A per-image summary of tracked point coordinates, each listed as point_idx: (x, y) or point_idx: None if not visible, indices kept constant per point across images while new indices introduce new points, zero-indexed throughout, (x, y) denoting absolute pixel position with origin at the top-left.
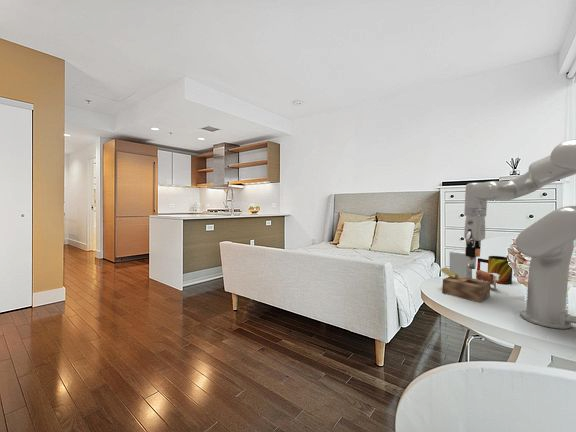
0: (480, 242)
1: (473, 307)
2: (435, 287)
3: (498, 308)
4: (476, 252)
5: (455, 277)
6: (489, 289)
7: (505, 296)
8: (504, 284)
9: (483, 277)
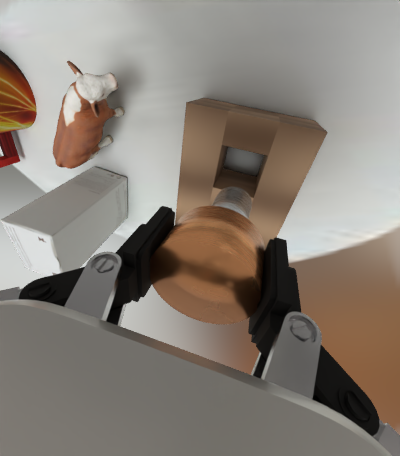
0: (85, 279)
1: (393, 134)
2: None
3: (362, 41)
4: (254, 251)
5: None
6: (205, 101)
7: (163, 40)
8: (18, 68)
9: (96, 138)
